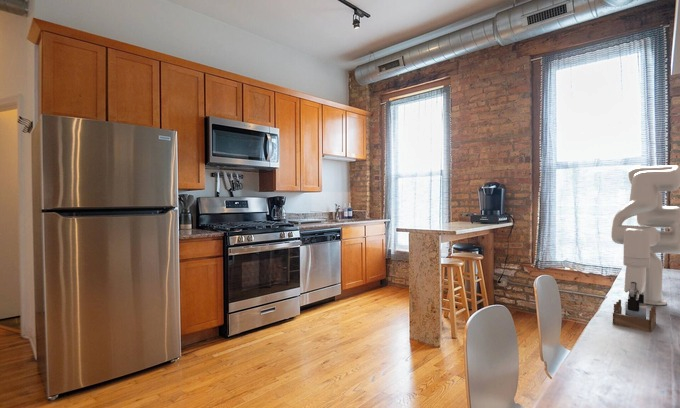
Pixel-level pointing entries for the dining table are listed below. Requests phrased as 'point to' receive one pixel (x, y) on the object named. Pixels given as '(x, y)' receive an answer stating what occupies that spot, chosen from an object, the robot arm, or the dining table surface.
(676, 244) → the robot arm
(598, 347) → the dining table surface
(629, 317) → the rack
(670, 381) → the dining table surface
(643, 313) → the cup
